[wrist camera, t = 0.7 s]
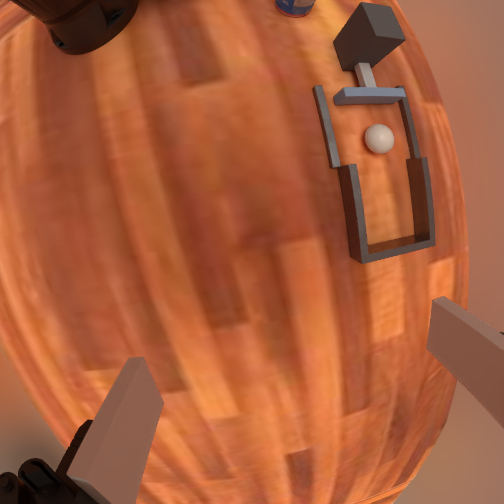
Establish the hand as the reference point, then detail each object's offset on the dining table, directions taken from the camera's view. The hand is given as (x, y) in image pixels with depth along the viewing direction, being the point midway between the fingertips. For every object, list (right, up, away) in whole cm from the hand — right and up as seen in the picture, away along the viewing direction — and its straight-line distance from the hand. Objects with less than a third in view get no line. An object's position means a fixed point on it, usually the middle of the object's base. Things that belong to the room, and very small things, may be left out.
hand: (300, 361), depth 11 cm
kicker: (+12, +29, +20) cm, 37 cm away
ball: (+14, +19, +20) cm, 31 cm away
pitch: (+15, +16, +23) cm, 32 cm away
